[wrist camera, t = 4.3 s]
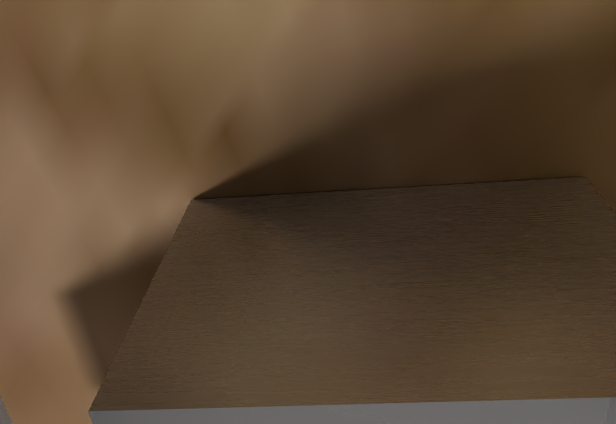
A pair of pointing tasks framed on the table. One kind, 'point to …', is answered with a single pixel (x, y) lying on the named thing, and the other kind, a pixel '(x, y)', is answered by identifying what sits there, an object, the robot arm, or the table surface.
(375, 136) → the table surface
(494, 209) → the grey hollow block
